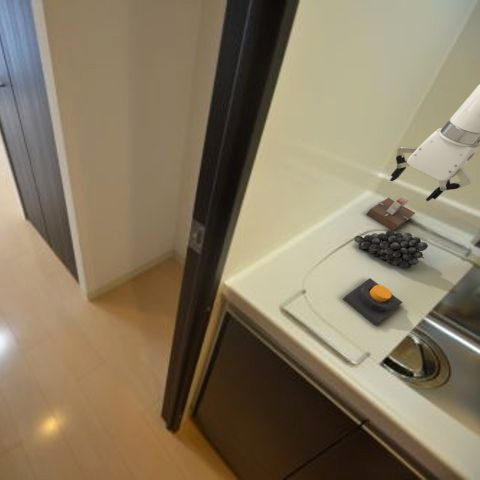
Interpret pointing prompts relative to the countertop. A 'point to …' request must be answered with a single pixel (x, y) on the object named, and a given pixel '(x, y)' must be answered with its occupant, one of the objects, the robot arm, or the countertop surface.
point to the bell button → (380, 293)
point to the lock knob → (397, 205)
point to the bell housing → (370, 302)
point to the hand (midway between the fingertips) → (410, 189)
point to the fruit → (393, 247)
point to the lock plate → (387, 219)
